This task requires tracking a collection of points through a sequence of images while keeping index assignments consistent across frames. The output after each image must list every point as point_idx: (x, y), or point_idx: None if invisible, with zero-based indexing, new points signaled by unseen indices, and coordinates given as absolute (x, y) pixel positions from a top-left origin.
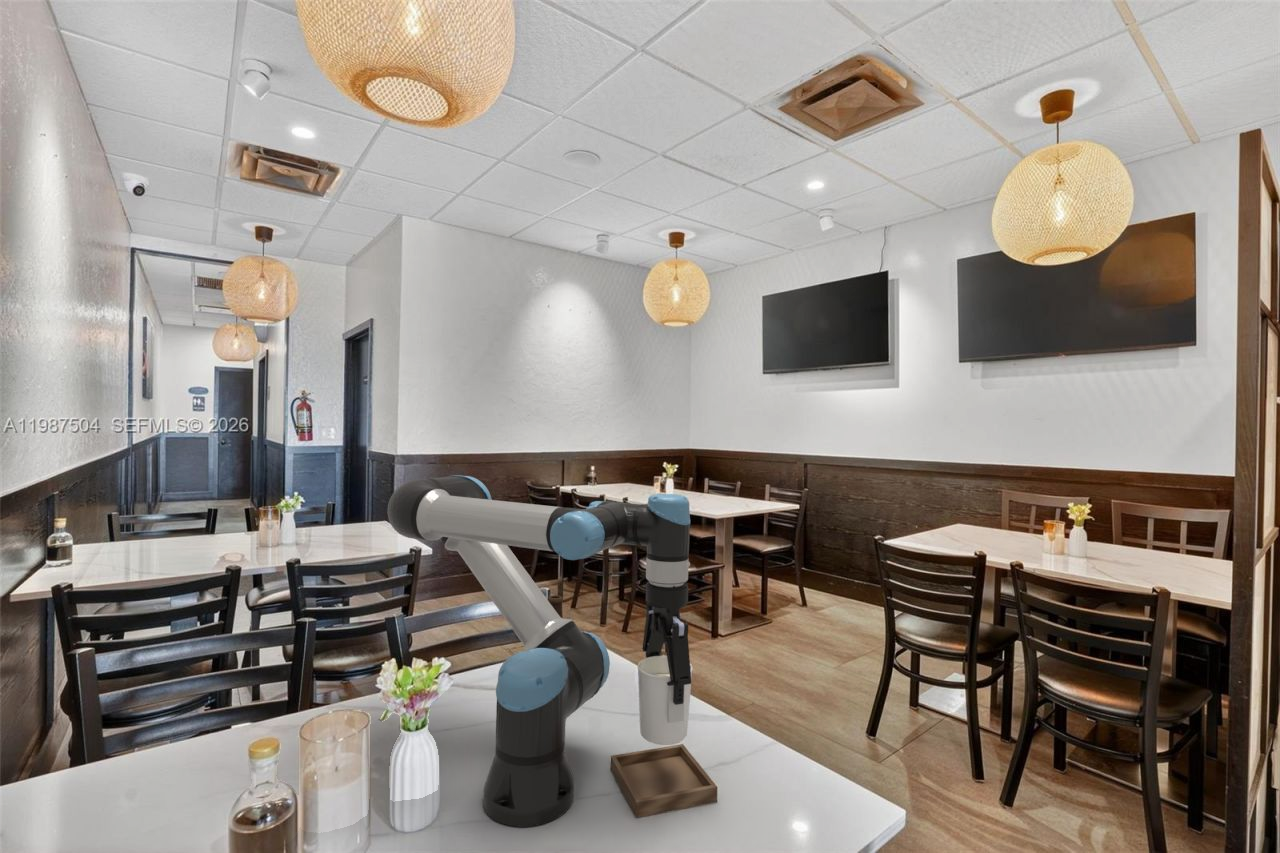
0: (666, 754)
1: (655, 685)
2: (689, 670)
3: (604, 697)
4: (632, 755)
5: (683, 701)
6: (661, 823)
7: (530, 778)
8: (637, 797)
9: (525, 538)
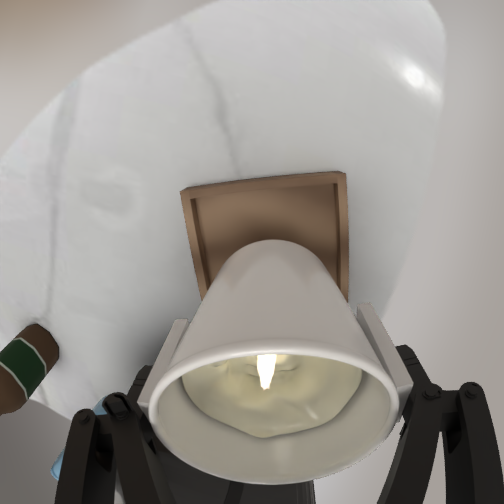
0: (197, 227)
1: (348, 436)
2: (490, 422)
3: (20, 274)
4: None
5: (411, 349)
6: (363, 275)
7: None
8: None
9: None
